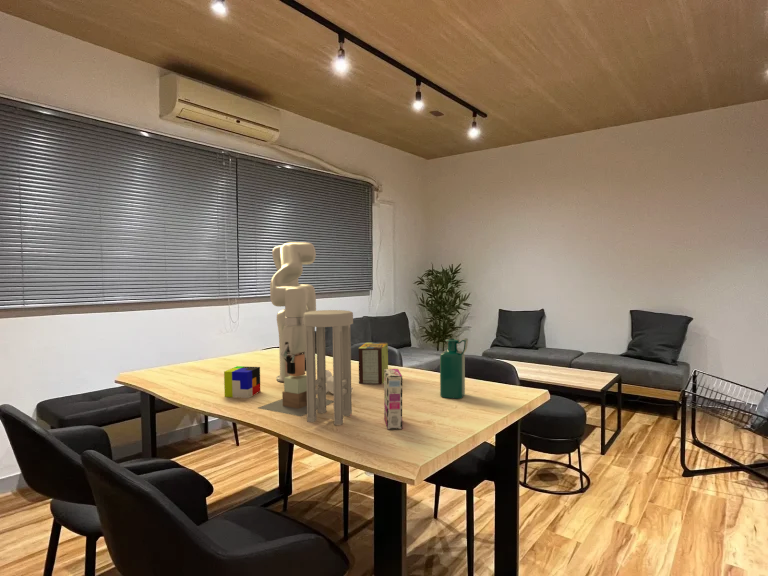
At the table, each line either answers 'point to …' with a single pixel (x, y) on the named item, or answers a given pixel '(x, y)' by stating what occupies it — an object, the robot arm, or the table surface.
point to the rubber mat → (289, 408)
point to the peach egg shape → (299, 365)
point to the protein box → (372, 362)
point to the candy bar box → (393, 398)
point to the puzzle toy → (242, 381)
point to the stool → (340, 362)
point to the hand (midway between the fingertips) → (297, 371)
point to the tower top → (295, 384)
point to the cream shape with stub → (330, 382)
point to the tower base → (294, 399)
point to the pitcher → (453, 370)
